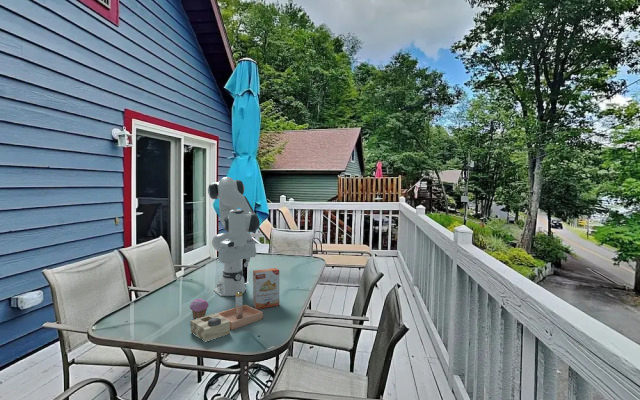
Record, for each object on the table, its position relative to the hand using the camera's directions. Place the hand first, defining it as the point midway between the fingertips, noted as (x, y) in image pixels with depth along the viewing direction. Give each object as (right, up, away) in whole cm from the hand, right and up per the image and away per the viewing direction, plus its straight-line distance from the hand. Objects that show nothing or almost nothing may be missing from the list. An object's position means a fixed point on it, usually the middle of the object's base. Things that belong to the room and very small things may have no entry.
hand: (238, 268), depth 169 cm
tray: (0, -27, +1) cm, 27 cm away
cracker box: (+11, -26, +20) cm, 34 cm away
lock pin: (0, -26, +1) cm, 26 cm away
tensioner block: (-9, -27, -14) cm, 32 cm away
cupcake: (-21, -27, +4) cm, 34 cm away
